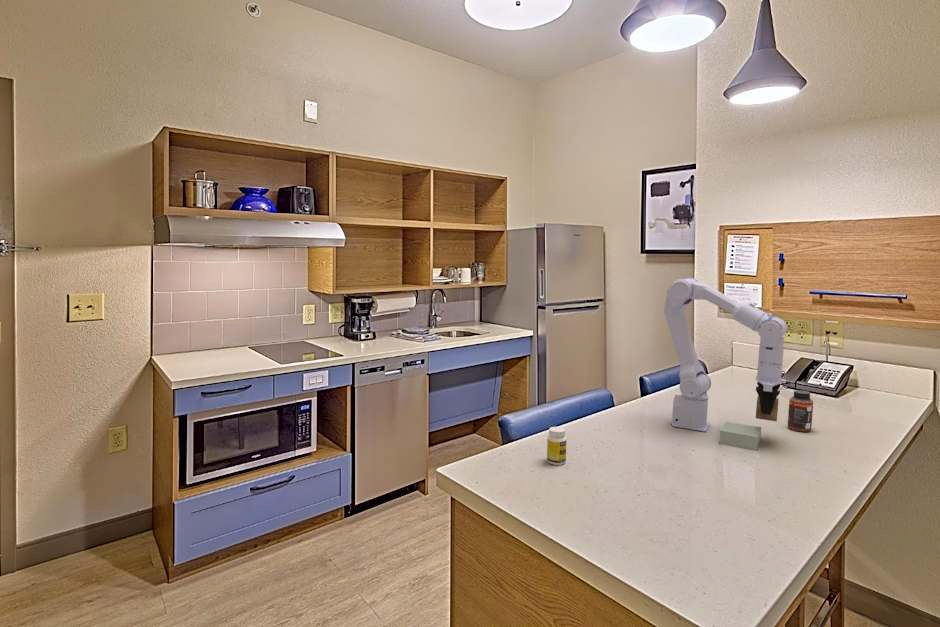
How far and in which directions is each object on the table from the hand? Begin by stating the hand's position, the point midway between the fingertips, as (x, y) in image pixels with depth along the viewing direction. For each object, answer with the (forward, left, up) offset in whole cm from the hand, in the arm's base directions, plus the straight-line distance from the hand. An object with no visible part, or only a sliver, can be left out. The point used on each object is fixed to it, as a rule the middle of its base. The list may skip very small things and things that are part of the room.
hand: (766, 411), depth 145 cm
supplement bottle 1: (-44, -42, -9) cm, 61 cm away
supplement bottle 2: (+8, +16, -9) cm, 20 cm away
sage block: (-6, -4, -9) cm, 11 cm away
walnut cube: (0, 0, -2) cm, 2 cm away
